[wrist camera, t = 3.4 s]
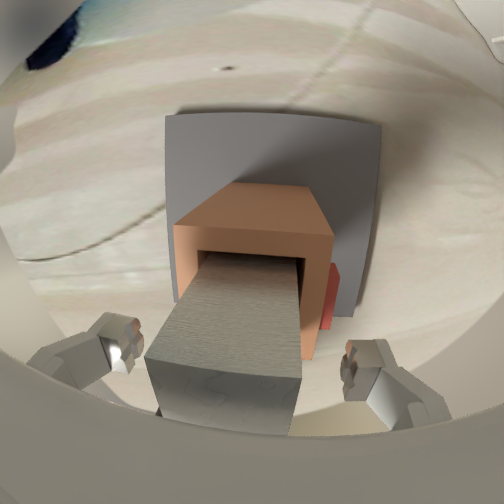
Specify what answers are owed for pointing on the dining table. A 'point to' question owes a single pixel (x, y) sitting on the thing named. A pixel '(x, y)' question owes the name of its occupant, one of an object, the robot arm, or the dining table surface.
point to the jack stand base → (274, 201)
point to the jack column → (232, 346)
